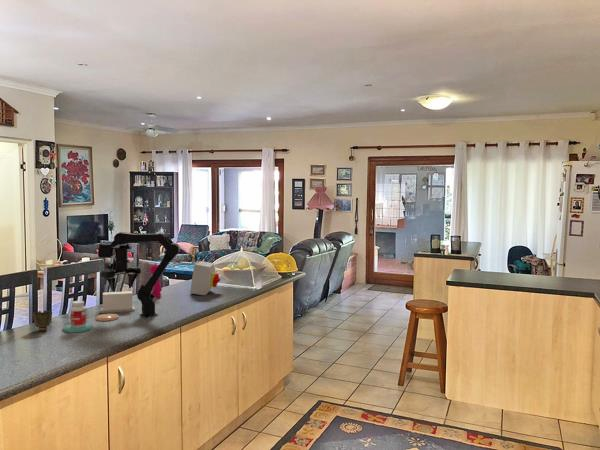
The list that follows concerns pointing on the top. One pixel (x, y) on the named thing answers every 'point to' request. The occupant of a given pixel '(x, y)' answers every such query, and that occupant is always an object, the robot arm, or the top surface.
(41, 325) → the cup
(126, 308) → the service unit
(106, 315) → the terracotta plate
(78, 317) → the pill bottle
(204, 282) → the electrical switch box
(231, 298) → the top surface
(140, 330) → the top surface
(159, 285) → the pepper mill
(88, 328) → the teal plate
